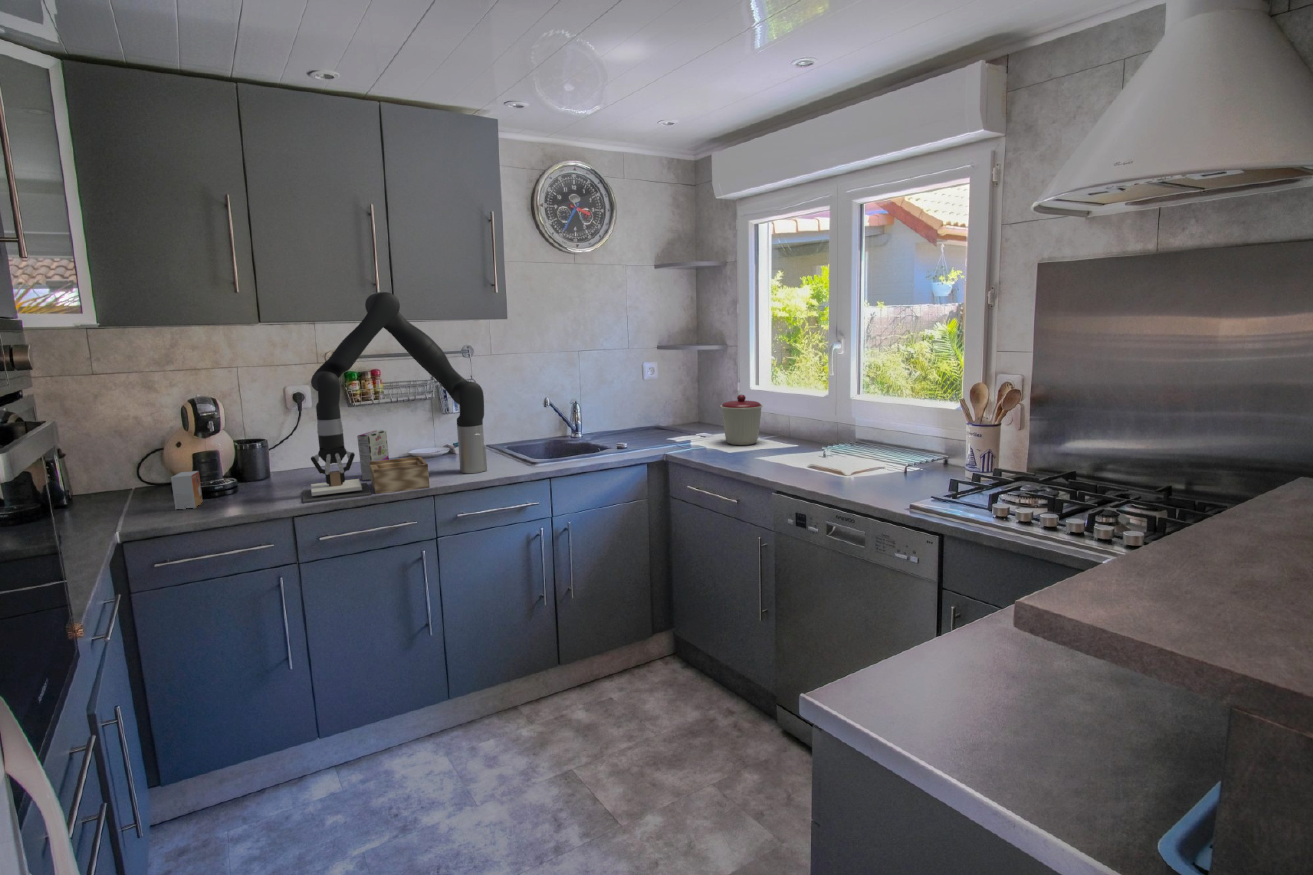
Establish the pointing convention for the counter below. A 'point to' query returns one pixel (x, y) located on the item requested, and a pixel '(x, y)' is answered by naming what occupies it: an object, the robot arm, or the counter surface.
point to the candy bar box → (372, 450)
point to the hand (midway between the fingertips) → (335, 484)
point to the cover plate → (337, 488)
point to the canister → (741, 421)
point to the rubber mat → (335, 494)
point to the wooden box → (399, 474)
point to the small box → (186, 490)
